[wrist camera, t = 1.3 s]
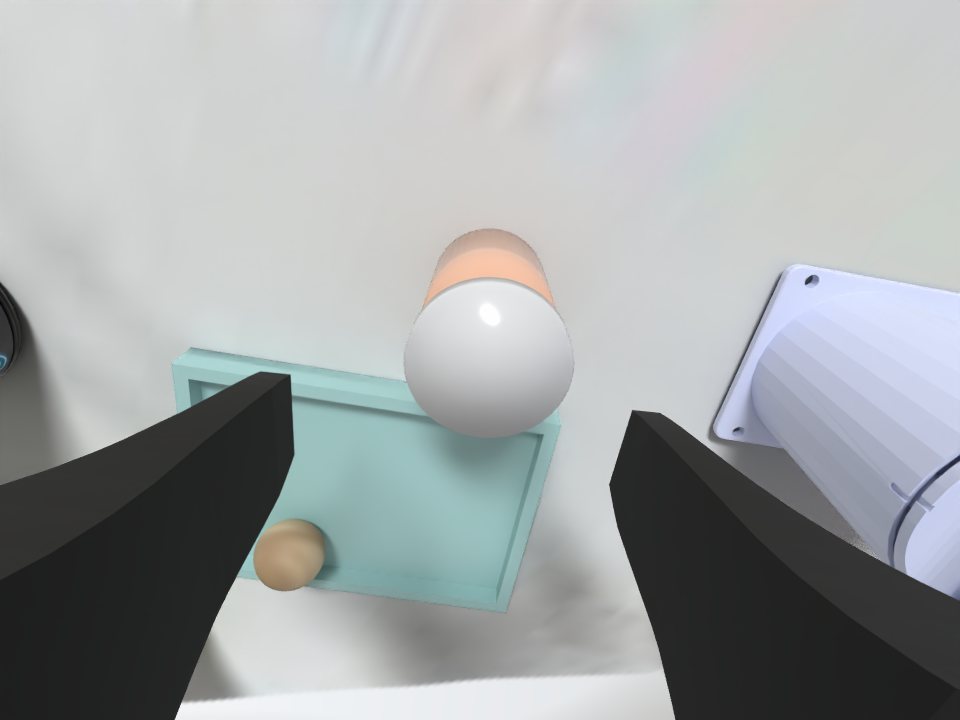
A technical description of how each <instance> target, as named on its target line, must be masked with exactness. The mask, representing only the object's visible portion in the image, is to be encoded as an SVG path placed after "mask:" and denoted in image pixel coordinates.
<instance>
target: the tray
mask: <svg viewBox="0 0 960 720" xmlns="http://www.w3.org/2000/svg"><path fill="white" fill-rule="evenodd" d="M260 371H263V372H273V373H282V374H291V390H292V411H293V431H294V452H295V455H294V458H293V461H292V464H291V466H290V469H289V472H288V475H287V478H286V480H285V483H284V485H283V488H282V491H281V493H280V496H279V498H278V500H277V502H276V504H275V506H274V508H273V510H272V511H271V513H270V515H269V517H268V519H267V521H266V523H265V525H264V527H263V529H262V530H261V532H260V534H259V536H258V538H257V540H256V542H255V543H254V545H253V547H252V549H251V551H250V553H249V555H248V556H247V558H246V560H245V562H244V564H243V566H242V568H241V569H240V571H239V573H238V575H237V577H240V578H247V579H255V580H260V579H259V578H258V576H257V574H256V572H255V569H254V565H253V554H254V550H255V546H256V544H257V542H258V540H259V538H260V537H261V535H262V534H263V533H264V532H265V531H266V530H267V529H268V528H269V527H271V526H272V525H274V524H275V523H277V522H280V521H283V520H286V519H301V520H305V521H307V522H309V523H311V524H313V525H314V526H315V527H316V528H317V529H318V530H319V531H320V533H321V534H322V536H323V539H324V542H325V559H324V562H323V565H322V567H321V569H320V571H319V572H318V574H317V575H316V576H315V577H314V579H313V580H311V581H310V582H309V583H308V584H306V585H305V586H307V587H315V588H322V589H330V590H337V591H345V592H352V593H360V594H367V595H375V596H382V597H390V598H397V599H405V600H412V601H420V602H427V603H435V604H442V605H450V606H457V607H465V608H472V609H480V610H487V611H495V612H502V613H506V610H507V607H508V603H509V600H510V597H511V593H512V590H513V587H514V583H515V580H516V576H517V573H518V570H519V566H520V563H521V560H522V556H523V553H524V549H525V546H526V543H527V539H528V536H529V533H530V529H531V526H532V522H533V519H534V516H535V512H536V509H537V506H538V502H539V499H540V495H541V492H542V489H543V485H544V482H545V478H546V475H547V472H548V468H549V465H550V462H551V458H552V455H553V451H554V448H555V445H556V441H557V438H558V435H559V431H560V428H561V421H560V417H559V412H558V408H557V409H556V410H555V411H554V412H553V413H552V414H551V415H550V416H549V417H547V418H546V419H545V420H544V421H542V422H541V423H539V424H538V425H536V426H534V427H532V428H530V429H528V430H526V431H524V432H521V433H518V434H515V435H511V436H506V437H499V438H479V437H472V436H467V435H463V434H460V433H457V432H454V431H452V430H450V429H448V428H446V427H444V426H442V425H441V424H439V423H437V422H436V421H435V420H433V419H432V418H431V417H429V416H428V415H427V414H426V413H425V412H424V411H423V410H422V409H421V407H420V406H419V405H418V403H417V402H416V401H415V399H414V397H413V395H412V394H411V392H410V389H409V387H408V384H407V382H403V381H397V380H391V379H384V378H378V377H372V376H366V375H359V374H353V373H347V372H341V371H334V370H328V369H322V368H316V367H309V366H303V365H297V364H291V363H284V362H278V361H272V360H266V359H259V358H253V357H247V356H241V355H234V354H228V353H222V352H216V351H209V350H203V349H197V348H190V349H189V350H188V351H187V352H185V353H184V354H183V355H182V356H180V357H179V358H178V359H177V360H175V361H174V362H173V363H172V372H173V381H174V390H175V398H176V407H177V414H178V413H180V412H182V411H184V410H186V409H188V408H190V407H192V406H193V405H195V404H197V403H199V402H201V401H203V400H205V399H207V398H209V397H211V396H212V395H214V394H216V393H218V392H220V391H222V390H224V389H226V388H227V387H229V386H231V385H233V384H235V383H237V382H239V381H241V380H243V379H245V378H247V377H249V376H251V375H253V374H255V373H258V372H260Z"/></svg>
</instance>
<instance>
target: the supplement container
mask: <svg viewBox="0 0 960 720" xmlns="http://www.w3.org/2000/svg"><path fill="white" fill-rule="evenodd" d="M20 343H21V332H20V324H19V319H18V316H17V313H16V311H15V308H14V306H13V304H12V302H11V301H10V299H9V297H8V296H7V294H6V293H5V291H4V290H3V289H2V287H1V286H0V377H1V376H2V375H4V374H5V373H6V372H7V371H8V369H9V368H10V367H11V365H12V364H13V363H14V361H15V359H16V357H17V355H18V352H19V349H20Z"/></svg>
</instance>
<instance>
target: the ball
mask: <svg viewBox="0 0 960 720" xmlns="http://www.w3.org/2000/svg"><path fill="white" fill-rule="evenodd" d="M324 559H325V542H324V539H323V536H322V534H321V533H320V531H319V530H318V529H317V528H316V527H315V526H314V525H313V524H311V523H309V522H307V521H305V520H301V519H286V520H283V521H280V522H277V523H275V524H274V525H272V526H271V527H269V528H268V529H267V530H266V531H265V532H264V533H263V534H262V535H261V537H260V538H259V540H258V542H257V544H256V546H255V550H254V554H253V565H254V569H255V572H256V574H257V576H258V578H259V579H260V580H261V582H263V583H264V584H265V585H266V586H268V587H269V588H271V589H274V590H277V591H292V590H296V589H299V588H301V587H303V586H305V585H306V584H308V583H309V582H310V581H311V580H313V579H314V577H315V576H316V575H317V574H318V572H319V571H320V569H321V567H322V565H323V562H324Z"/></svg>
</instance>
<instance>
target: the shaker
mask: <svg viewBox="0 0 960 720" xmlns="http://www.w3.org/2000/svg"><path fill="white" fill-rule="evenodd" d="M404 371H405V377H406V381H407V384H408V387H409V389H410V392H411V394H412V395H413V397H414V399H415V401H416V402H417V403H418V405H419V406H420V407H421V409H422V410H423V411H424V412H425V413H426V414H427V415H428V416H429V417H431V418H432V419H433V420H435V421H436V422H437V423H439V424H441V425H442V426H444V427H446V428H448V429H450V430H452V431H454V432H457V433H460V434H463V435H467V436H472V437H479V438H499V437H506V436H511V435H515V434H518V433H521V432H524V431H526V430H528V429H530V428H532V427H534V426H536V425H538V424H539V423H541V422H542V421H544V420H545V419H546V418H547V417H549V416H550V415H551V414H552V413H553V412H554V411H555V410H556V409H557V408H558V406H559V405H560V403H561V402H562V401H563V399H564V397H565V395H566V394H567V392H568V390H569V387H570V384H571V381H572V377H573V372H574V353H573V348H572V344H571V340H570V337H569V334H568V332H567V329H566V326H565V324H564V321H563V319H562V318H561V316H560V314H559V312H558V311H557V310H556V307H555V304H554V301H553V298H552V295H551V292H550V289H549V286H548V283H547V280H546V277H545V274H544V271H543V268H542V265H541V262H540V260H539V258H538V256H537V254H536V253H535V251H534V250H533V249H532V248H531V247H530V246H529V245H528V244H527V243H526V242H525V241H524V240H522V239H521V238H520V237H518V236H516V235H514V234H512V233H509V232H507V231H503V230H498V229H481V230H475V231H472V232H469V233H467V234H464V235H462V236H461V237H459V238H457V239H456V240H455V241H454V242H452V243H451V244H450V245H449V246H448V247H447V248H446V249H445V251H444V252H443V254H442V255H441V257H440V259H439V261H438V263H437V266H436V269H435V272H434V275H433V278H432V281H431V284H430V287H429V290H428V293H427V296H426V299H425V302H424V305H423V308H422V310H421V311H420V313H419V314H418V316H417V318H416V320H415V321H414V324H413V326H412V329H411V332H410V335H409V338H408V340H407V343H406V348H405V353H404Z"/></svg>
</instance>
